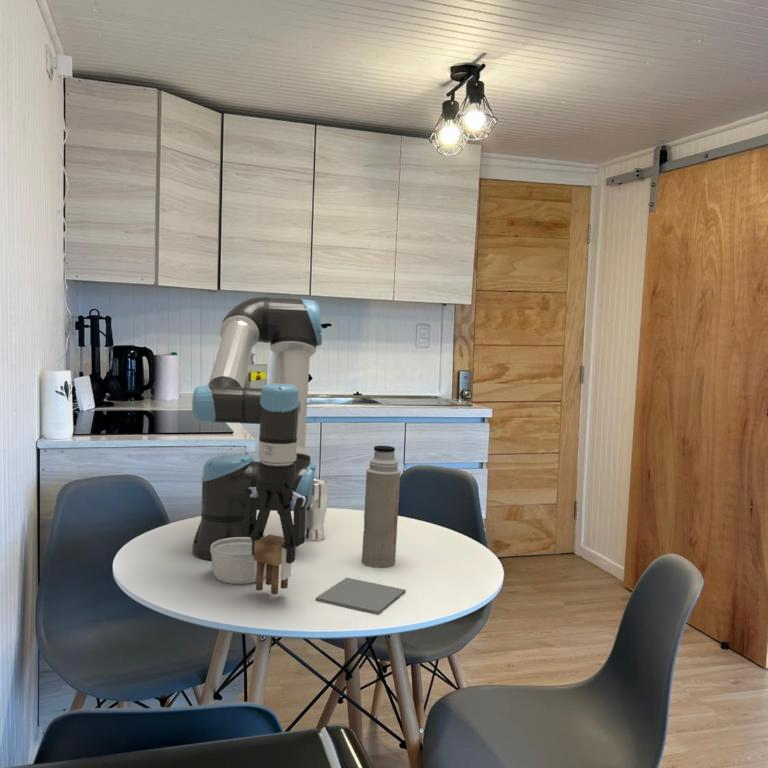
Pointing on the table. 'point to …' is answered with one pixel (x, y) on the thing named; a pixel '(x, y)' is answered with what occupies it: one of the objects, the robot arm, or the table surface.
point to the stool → (269, 562)
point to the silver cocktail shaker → (316, 511)
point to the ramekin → (234, 560)
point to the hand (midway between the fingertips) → (272, 574)
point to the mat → (361, 595)
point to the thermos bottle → (381, 509)
